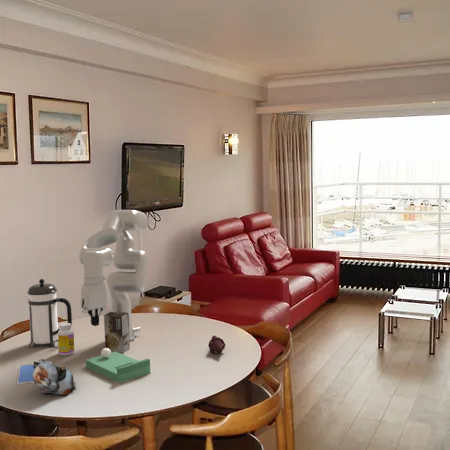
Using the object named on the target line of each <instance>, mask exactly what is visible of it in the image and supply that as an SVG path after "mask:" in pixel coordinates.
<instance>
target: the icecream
mask: <svg viewBox="0 0 450 450" xmlns="http://www.w3.org/2000/svg"><path fill="white" fill-rule="evenodd" d="M208 348H209V351H210V352H212V353H213V354H221V353H222V352H223V350H225V349H226V343H225V342H224V340H223V338H220V337H219V336H217V335H212V336H211V339H210V341H209V342H208Z"/></svg>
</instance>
